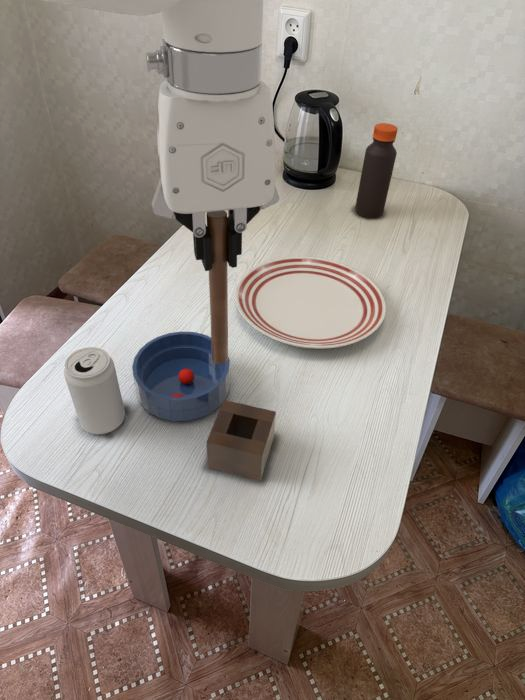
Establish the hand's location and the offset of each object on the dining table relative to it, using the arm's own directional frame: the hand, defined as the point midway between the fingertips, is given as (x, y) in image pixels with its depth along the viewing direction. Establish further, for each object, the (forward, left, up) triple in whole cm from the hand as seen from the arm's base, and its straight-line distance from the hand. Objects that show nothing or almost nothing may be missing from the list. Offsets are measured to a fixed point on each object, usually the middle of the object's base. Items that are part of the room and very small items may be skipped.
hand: (218, 260), depth 53 cm
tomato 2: (-8, +8, -26) cm, 29 cm away
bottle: (+14, +72, -29) cm, 79 cm away
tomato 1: (-8, +3, -28) cm, 29 cm away
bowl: (-8, +6, -29) cm, 31 cm away
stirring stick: (0, 0, -15) cm, 15 cm away
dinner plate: (+7, +31, -29) cm, 43 cm away
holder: (+4, -3, -29) cm, 30 cm away
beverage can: (-17, -3, -29) cm, 34 cm away
